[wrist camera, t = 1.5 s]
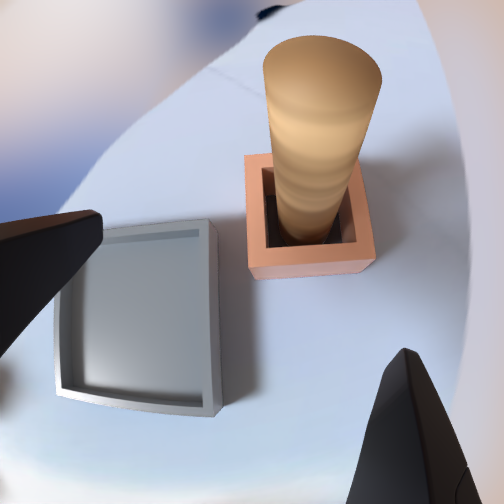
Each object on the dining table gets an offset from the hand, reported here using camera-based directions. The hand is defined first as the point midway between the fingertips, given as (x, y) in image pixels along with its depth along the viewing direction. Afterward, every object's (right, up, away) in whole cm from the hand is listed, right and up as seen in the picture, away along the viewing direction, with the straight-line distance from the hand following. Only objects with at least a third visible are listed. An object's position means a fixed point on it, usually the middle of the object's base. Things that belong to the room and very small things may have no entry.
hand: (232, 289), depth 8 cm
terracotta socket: (+4, +3, +13) cm, 14 cm away
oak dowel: (+4, +3, +13) cm, 14 cm away
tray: (-8, -4, +13) cm, 16 cm away
